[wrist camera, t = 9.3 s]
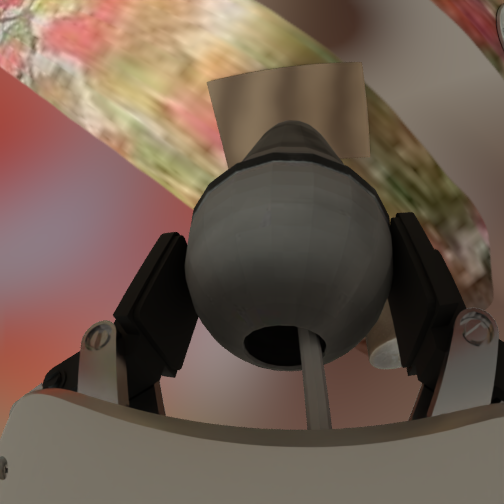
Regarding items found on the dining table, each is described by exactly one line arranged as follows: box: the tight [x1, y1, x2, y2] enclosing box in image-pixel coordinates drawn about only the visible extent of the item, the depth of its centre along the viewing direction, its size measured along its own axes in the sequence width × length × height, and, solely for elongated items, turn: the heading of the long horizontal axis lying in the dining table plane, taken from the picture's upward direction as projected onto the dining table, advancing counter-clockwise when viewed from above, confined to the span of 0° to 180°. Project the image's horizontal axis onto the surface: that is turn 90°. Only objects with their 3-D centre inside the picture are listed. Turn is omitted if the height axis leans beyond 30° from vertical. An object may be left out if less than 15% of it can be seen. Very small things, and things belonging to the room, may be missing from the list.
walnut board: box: [207, 62, 370, 169], centre depth 30 cm, size 18×12×2 cm, turn 102°
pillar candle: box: [366, 299, 402, 369], centre depth 41 cm, size 10×10×15 cm
